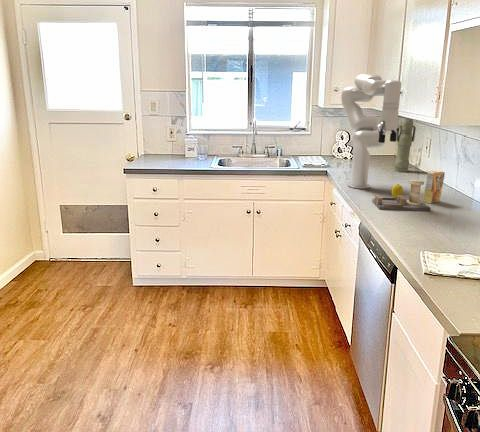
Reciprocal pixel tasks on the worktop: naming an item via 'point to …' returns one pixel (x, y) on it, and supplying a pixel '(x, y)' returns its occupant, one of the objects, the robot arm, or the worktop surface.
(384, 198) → the board
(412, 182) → the bobbin
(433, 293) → the worktop surface
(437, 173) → the candy box
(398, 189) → the lemon
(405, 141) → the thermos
